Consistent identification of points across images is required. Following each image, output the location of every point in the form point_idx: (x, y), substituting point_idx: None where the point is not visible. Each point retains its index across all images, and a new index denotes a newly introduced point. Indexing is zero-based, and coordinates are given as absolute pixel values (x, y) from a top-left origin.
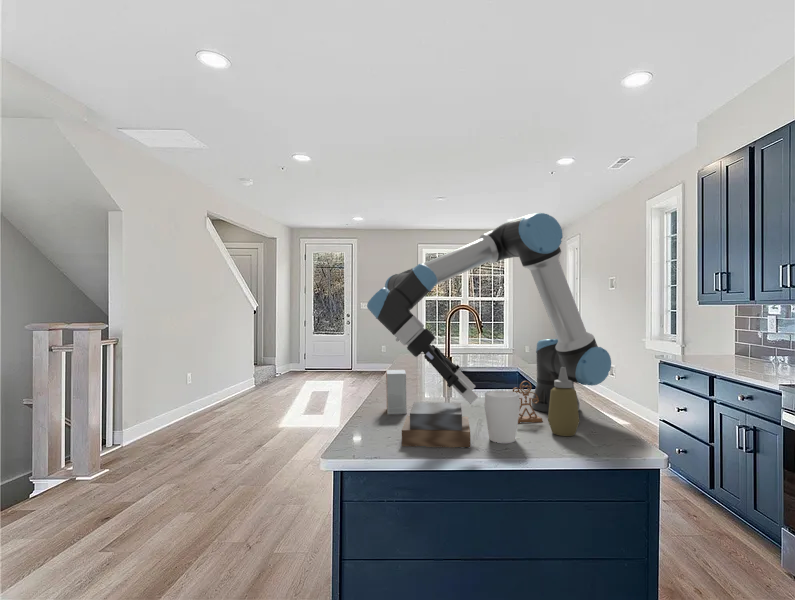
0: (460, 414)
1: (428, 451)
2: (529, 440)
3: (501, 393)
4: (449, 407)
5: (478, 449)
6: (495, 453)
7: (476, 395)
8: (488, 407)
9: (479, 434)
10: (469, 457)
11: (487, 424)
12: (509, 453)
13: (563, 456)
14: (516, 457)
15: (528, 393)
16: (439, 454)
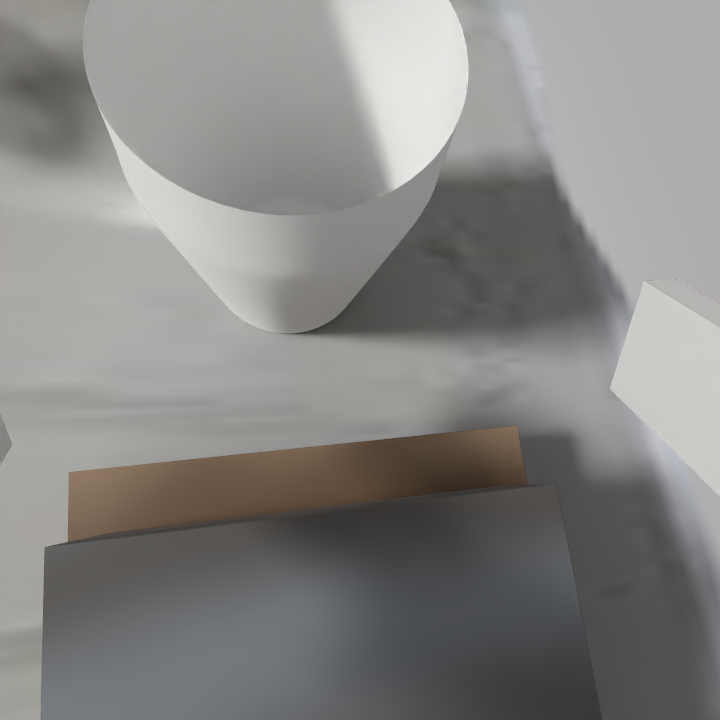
0: (556, 497)
1: (603, 683)
2: None
3: (94, 57)
4: (298, 651)
5: (490, 391)
6: (531, 305)
7: (693, 293)
8: (389, 246)
9: (185, 395)
10: (628, 431)
11: (308, 313)
12: (513, 241)
13: (492, 32)
14: (561, 215)
15: None
16: (633, 603)
